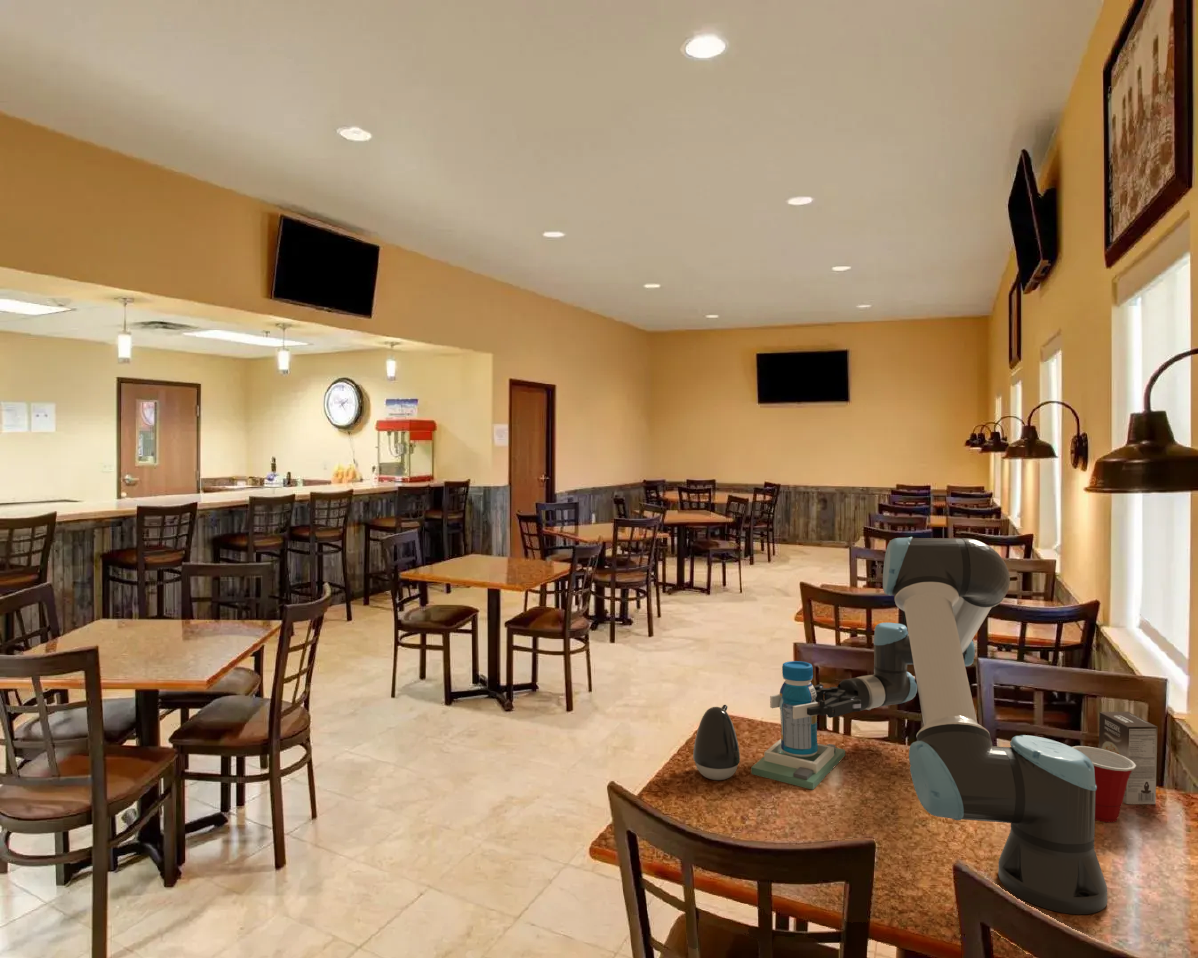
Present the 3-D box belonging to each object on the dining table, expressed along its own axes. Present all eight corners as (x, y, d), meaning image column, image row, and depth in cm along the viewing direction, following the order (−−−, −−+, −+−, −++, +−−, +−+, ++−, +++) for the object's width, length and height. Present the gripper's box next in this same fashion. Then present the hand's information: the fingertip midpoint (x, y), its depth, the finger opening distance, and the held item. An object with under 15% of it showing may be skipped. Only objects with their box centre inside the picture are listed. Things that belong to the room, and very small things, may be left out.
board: (813, 789, 157) (813, 773, 157) (751, 773, 165) (751, 758, 165) (845, 755, 175) (845, 741, 175) (787, 743, 183) (788, 728, 183)
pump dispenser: (747, 771, 166) (747, 704, 166) (729, 789, 157) (729, 718, 157) (705, 762, 172) (705, 696, 171) (685, 778, 163) (685, 709, 162)
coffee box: (1096, 785, 159) (1097, 710, 158) (1126, 785, 159) (1127, 710, 158) (1126, 804, 150) (1127, 725, 149) (1158, 805, 149) (1159, 725, 149)
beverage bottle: (792, 760, 165) (790, 670, 165) (773, 747, 173) (771, 661, 173) (825, 755, 167) (823, 667, 167) (806, 742, 175) (804, 658, 175)
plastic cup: (1146, 831, 139) (1147, 768, 138) (1082, 826, 141) (1083, 763, 141) (1118, 805, 149) (1119, 746, 149) (1059, 800, 151) (1060, 742, 151)
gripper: (892, 722, 168) (812, 738, 158) (830, 697, 186) (755, 710, 177) (892, 689, 168) (812, 703, 158) (830, 667, 186) (755, 678, 177)
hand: (782, 707), depth 168 cm, fingers closed on beverage bottle, 7 cm apart
